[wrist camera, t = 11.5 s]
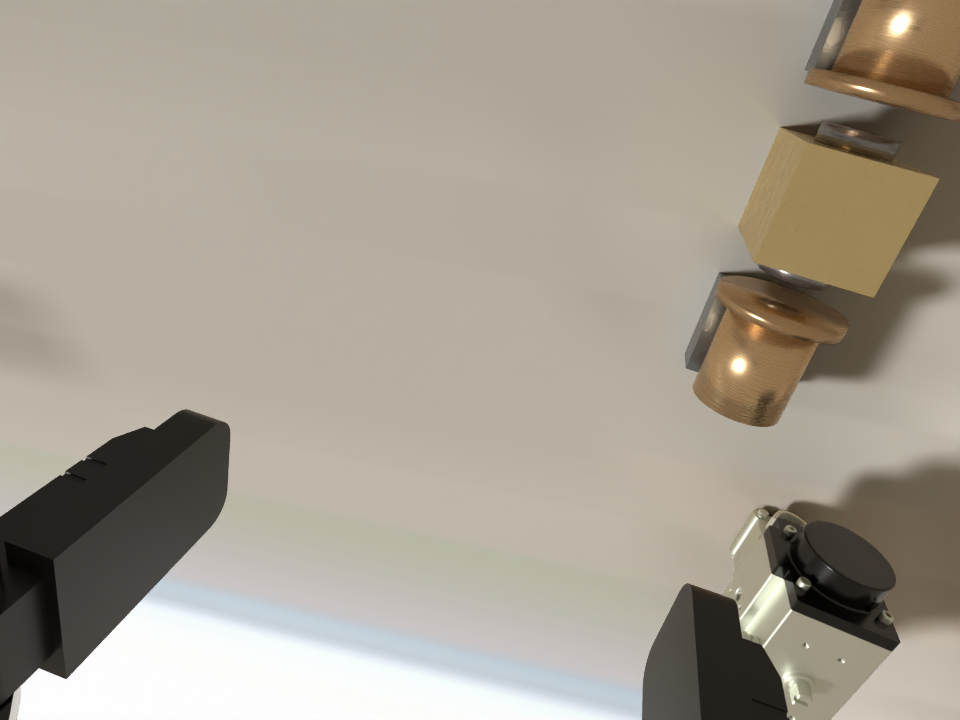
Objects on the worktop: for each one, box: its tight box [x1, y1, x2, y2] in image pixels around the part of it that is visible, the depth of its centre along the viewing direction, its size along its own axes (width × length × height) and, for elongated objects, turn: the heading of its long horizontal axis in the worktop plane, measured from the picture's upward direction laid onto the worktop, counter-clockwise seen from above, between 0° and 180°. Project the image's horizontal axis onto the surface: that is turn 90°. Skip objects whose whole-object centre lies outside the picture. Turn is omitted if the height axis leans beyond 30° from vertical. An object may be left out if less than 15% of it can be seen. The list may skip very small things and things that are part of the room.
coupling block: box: [738, 121, 940, 298], centre depth 29 cm, size 7×5×7 cm
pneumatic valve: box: [723, 508, 900, 720], centre depth 35 cm, size 6×12×12 cm, turn 163°
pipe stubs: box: [685, 0, 960, 427], centre depth 29 cm, size 6×20×7 cm, turn 167°
